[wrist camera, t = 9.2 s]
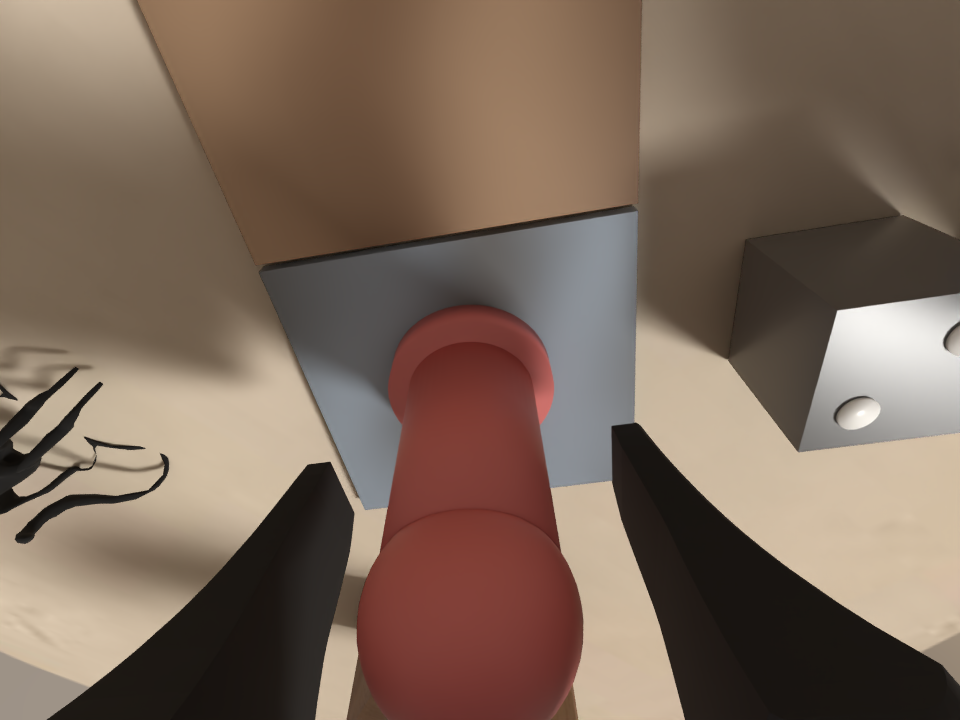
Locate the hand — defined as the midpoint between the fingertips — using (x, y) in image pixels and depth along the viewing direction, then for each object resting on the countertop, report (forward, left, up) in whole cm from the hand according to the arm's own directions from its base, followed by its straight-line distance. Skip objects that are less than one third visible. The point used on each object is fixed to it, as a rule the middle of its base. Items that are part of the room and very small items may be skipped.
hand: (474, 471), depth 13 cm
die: (-10, -2, -4) cm, 11 cm away
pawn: (0, -1, -3) cm, 3 cm away
